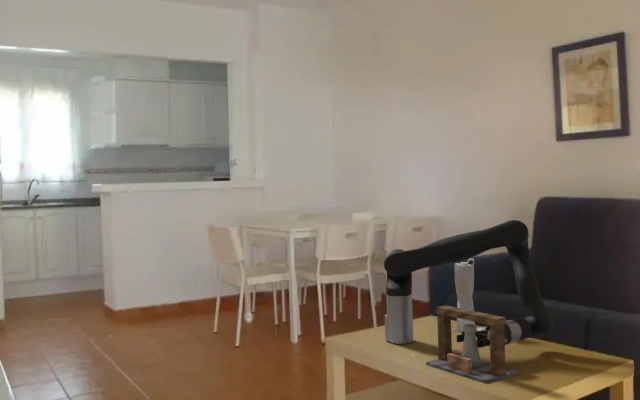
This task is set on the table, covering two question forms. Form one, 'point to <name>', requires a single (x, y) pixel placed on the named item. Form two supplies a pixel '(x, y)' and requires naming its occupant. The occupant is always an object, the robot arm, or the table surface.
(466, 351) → the salt shaker
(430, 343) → the table surface
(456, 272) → the skyscraper
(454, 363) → the gateway
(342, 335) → the table surface
